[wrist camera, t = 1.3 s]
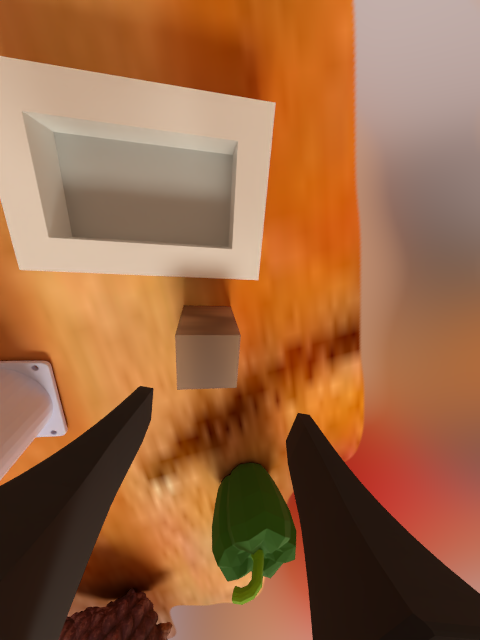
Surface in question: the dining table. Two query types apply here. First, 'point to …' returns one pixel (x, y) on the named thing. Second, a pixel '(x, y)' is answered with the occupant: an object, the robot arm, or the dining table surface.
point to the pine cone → (117, 621)
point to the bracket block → (207, 348)
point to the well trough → (131, 174)
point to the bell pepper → (251, 529)
